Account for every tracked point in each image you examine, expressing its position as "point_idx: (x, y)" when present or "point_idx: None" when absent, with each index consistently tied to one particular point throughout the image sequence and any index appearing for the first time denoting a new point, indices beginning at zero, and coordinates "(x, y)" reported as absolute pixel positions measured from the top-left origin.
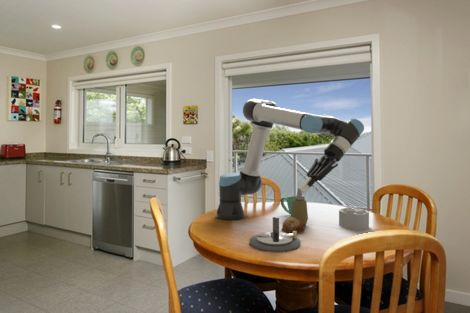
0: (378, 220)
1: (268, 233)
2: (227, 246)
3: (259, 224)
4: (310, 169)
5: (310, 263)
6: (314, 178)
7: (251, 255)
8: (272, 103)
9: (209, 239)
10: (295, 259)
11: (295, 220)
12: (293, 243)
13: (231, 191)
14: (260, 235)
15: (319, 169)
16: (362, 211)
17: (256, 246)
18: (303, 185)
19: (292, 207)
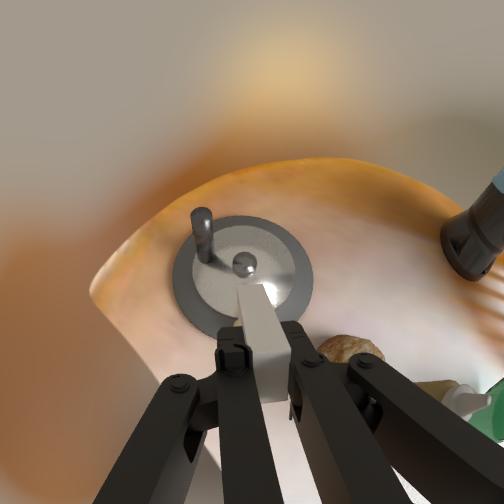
0: None
1: (279, 263)
2: (252, 181)
3: (412, 296)
4: (420, 402)
5: (94, 288)
6: (212, 377)
7: (184, 204)
8: None
9: (305, 167)
10: (123, 271)
11: None
12: (201, 308)
13: (488, 203)
14: (266, 238)
15: (229, 471)
16: None
17: (217, 220)
18: (246, 298)
19: (432, 381)
